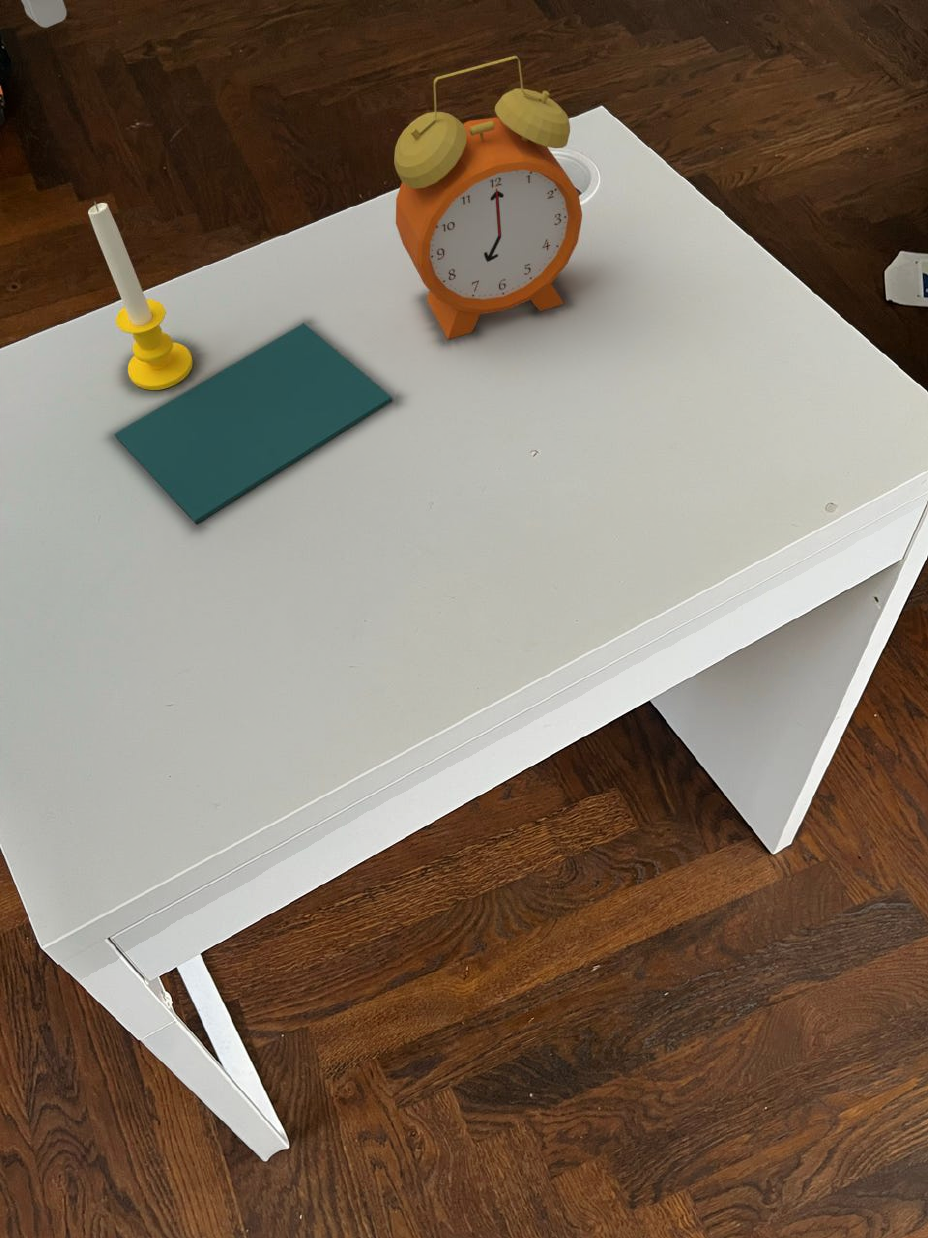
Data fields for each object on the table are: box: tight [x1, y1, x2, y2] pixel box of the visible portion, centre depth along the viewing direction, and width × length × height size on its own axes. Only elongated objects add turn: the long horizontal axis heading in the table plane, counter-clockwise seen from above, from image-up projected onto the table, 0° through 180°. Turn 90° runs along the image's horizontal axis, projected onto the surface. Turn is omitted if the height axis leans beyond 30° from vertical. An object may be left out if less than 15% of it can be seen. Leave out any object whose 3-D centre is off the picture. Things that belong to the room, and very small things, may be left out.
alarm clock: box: [393, 55, 583, 340], centre depth 86 cm, size 13×6×20 cm, turn 110°
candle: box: [87, 200, 194, 391], centre depth 87 cm, size 5×5×16 cm
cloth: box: [114, 322, 393, 525], centre depth 89 cm, size 18×12×1 cm, turn 129°
